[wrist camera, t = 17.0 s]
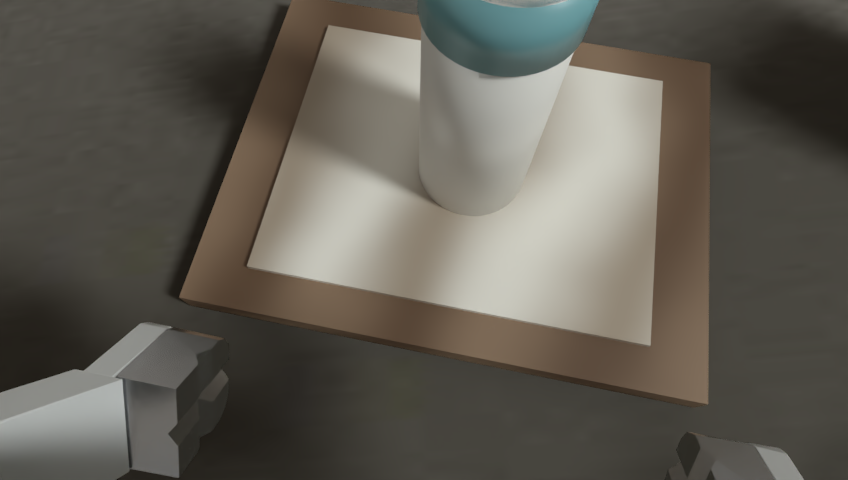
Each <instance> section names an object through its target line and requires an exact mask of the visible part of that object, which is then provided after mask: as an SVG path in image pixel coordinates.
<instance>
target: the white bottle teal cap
mask: <svg viewBox="0 0 848 480" xmlns="http://www.w3.org/2000/svg"><path fill="white" fill-rule="evenodd" d="M598 1H599V0H418V15H419V20H420V23H421V67H420V120H419V176H420V180H421V183H422V185H423V187H424V189H425V191H426V192H427V194H428V195H429V196H430V197H431V198H432V199H433V200H434V201H435V202H436V203H437V204H438V205H440V206H441V207H443V208H445V209H447V210H449V211H451V212H454V213H457V214H461V215H466V216H481V215H487V214H491V213H494V212H496V211H498V210H500V209H502V208H504V207H505V206H507V205H508V204H509V203H510V202H511V201H512V200H513V199H514V198H515V197H516V196H517V194H518V193H519V191H520V189H521V187H522V184H523V182H524V179H525V176H526V174H527V171H528V169H529V166H530V164H531V161H532V158H533V156H534V153H535V151H536V148H537V146H538V143H539V140H540V138H541V135H542V133H543V130H544V128H545V125H546V122H547V120H548V117H549V115H550V112H551V110H552V107H553V104H554V102H555V99H556V97H557V94H558V92H559V89H560V86H561V84H562V81H563V79H564V76H565V74H566V71H567V68H568V66H569V63H570V61H571V58H572V56H573V53H574V51H575V50H576V49H577V48H578V46H579V45H580V43H581V42H582V40H583V38H584V36H585V34H586V31H587V29H588V26H589V24H590V21H591V19H592V16H593V14H594V11H595V9H596V6H597V4H598Z"/></svg>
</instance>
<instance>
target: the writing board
mask: <svg viewBox="0 0 848 480" xmlns="http://www.w3.org/2000/svg"><path fill="white" fill-rule="evenodd" d="M420 67H421V23H420V20H419V15H413V14H407V13H401V12H395V11H389V10H383V9H377V8H371V7H364V6H358V5H352V4H346V3H340V2H334V1H328V0H292V1H291V4H290V6H289V9H288V11H287V14H286V17H285V19H284V22H283V25H282V27H281V30H280V32H279V35H278V38H277V40H276V43H275V46H274V48H273V51H272V54H271V56H270V59H269V61H268V64H267V67H266V69H265V72H264V75H263V77H262V80H261V82H260V85H259V88H258V90H257V93H256V96H255V98H254V101H253V104H252V106H251V109H250V111H249V114H248V117H247V119H246V122H245V125H244V127H243V130H242V132H241V135H240V138H239V140H238V143H237V146H236V148H235V151H234V154H233V156H232V159H231V161H230V164H229V167H228V169H227V172H226V175H225V177H224V180H223V182H222V185H221V188H220V190H219V193H218V196H217V198H216V201H215V204H214V206H213V209H212V211H211V214H210V217H209V219H208V222H207V225H206V227H205V230H204V232H203V235H202V238H201V240H200V243H199V246H198V248H197V251H196V254H195V256H194V259H193V261H192V264H191V267H190V269H189V272H188V275H187V277H186V280H185V282H184V285H183V288H182V290H181V293H180V296H179V298H180V299H182V300H183V301H184V302H186V303H187V304H189V305H191V306H196V307H201V308H206V309H211V310H215V311H220V312H225V313H230V314H235V315H240V316H245V317H250V318H255V319H260V320H265V321H270V322H275V323H280V324H284V325H289V326H294V327H299V328H304V329H309V330H314V331H319V332H324V333H329V334H334V335H339V336H344V337H349V338H353V339H358V340H363V341H368V342H373V343H378V344H383V345H388V346H393V347H398V348H403V349H408V350H413V351H418V352H423V353H427V354H432V355H437V356H442V357H447V358H452V359H457V360H462V361H467V362H472V363H477V364H482V365H487V366H492V367H496V368H501V369H506V370H511V371H516V372H521V373H526V374H531V375H536V376H541V377H546V378H551V379H556V380H561V381H565V382H570V383H575V384H580V385H585V386H590V387H595V388H600V389H605V390H610V391H615V392H620V393H625V394H630V395H634V396H639V397H644V398H649V399H654V400H659V401H664V402H669V403H674V404H679V405H684V406H689V407H699V406H703V405H708V346H709V203H710V63H704V62H698V61H692V60H686V59H680V58H674V57H668V56H662V55H656V54H650V53H644V52H638V51H631V50H625V49H619V48H613V47H607V46H601V45H595V44H589V43H583V42H581V43H580V45H579V46H578V48H577V49H576V50H575V51H574V53H573V56H572V58H571V61H570V63H569V66H568V68H567V71H566V74H565V76H564V79H563V81H562V84H561V86H560V89H559V92H558V94H557V97H556V99H555V102H554V104H553V107H552V110H551V112H550V115H549V117H548V120H547V122H546V125H545V128H544V130H543V133H542V135H541V138H540V140H539V143H538V146H537V148H536V151H535V153H534V156H533V158H532V161H531V164H530V166H529V169H528V171H527V174H526V176H525V179H524V182H523V184H522V187H521V189H520V191H519V193H518V194H517V196H516V197H515V198H514V199H513V200H512V201H511V202H510V203H509V204H508V205H507V206H505V207H504V208H502V209H500V210H498V211H496V212H494V213H491V214H487V215H481V216H466V215H461V214H457V213H454V212H451V211H449V210H447V209H445V208H443V207H441V206H440V205H438V204H437V203H436V202H435V201H434V200H433V199H432V198H431V197H430V196H429V195H428V194H427V192H426V191H425V189H424V187H423V185H422V183H421V180H420V176H419V120H420Z"/></svg>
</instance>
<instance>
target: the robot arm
mask: <svg viewBox="0 0 848 480" xmlns="http://www.w3.org/2000/svg"><path fill="white" fill-rule="evenodd" d="M228 360H229V343H228V342H227V341H226V340H225V339H224V338H220V337H216V336H211V335H207V334H202V333H198V332H193V331H189V330H184V329H180V328H175V327H173V328H172V327H170V326H166V325H161V324H156V323H151V322H145V323H140V324H139V325H138V326H137V327H135V328H134V329H133V330H132V331H131V332H129V333H128V334H127V335H126V336H125V337H123V338H122V339H121V340H120V341H119V342H117V343H116V344H115V345H114V346H113V347H111V348H110V349H109V350H108V351H107V352H105V353H104V354H103V355H102V356H101V357H99V358H98V359H97V360H96V361H95V362H94V363H92V364H91V365H90V366H89V367H88V368H86V369H85V370H84V371H81V370H76V369H74V370H71V371H68V372H64V373H61V374H58V375H55V376H52V377H49V378H45V379H42V380H39V381H36V382H33V383H29V384H26V385H23V386H20V387H17V388H13V389H10V390H7V391H4V392H1V393H0V480H116V479H118V478H119V477H121V476H123V475H124V474H126V473H128V472H129V471H130V470H129V469H134V470H139V471H145V472H150V473H155V474H161V475H166V476H171V477H176V478H179V477H180V476H181V475H182V473H183V472H184V470H185V469H186V468H187V466H188V465H189V463H190V462H191V461H192V459H193V458H194V456H195V455H196V454H197V452H198V451H199V449H200V440H199V437H201V436H203V435H205V434H207V433H209V432H212V431H213V429H214V428H215V426H216V425H217V423H218V422H219V420H220V419H221V416H222V414H223V411H224V409H225V406H226V403H227V398H228V392H229V379H228V377H227V376H226V374H225V373H224V371H223V370H222V368H223V366H224V365H225V364H226V363H227V361H228ZM676 451H677V453H678V456H679V459H680V461H681V462H680V463H678V464H677V465H675V466H673V467H672V468H670V469H669V470H668V471H667V474H666V477H665V480H804V479H803V478H802V476H801V475H800V473H799V471H798V470H797V468H796V467H795V465H794V464H793V462H792V461H791V459H790V458H789V456H788V455H787V454H786V453H785V452H784V451H782V450H781V449H780V448H776V447H770V446H764V445H758V444H752V443H742V442H737V441H731V440H726V439H721V438H716V437H711V436H706V435H700V434H695V433H690V432H686V433H685V435H684V436H683V437H682V438H681V440H680V442H679V444H678V447H677V449H676Z"/></svg>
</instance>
